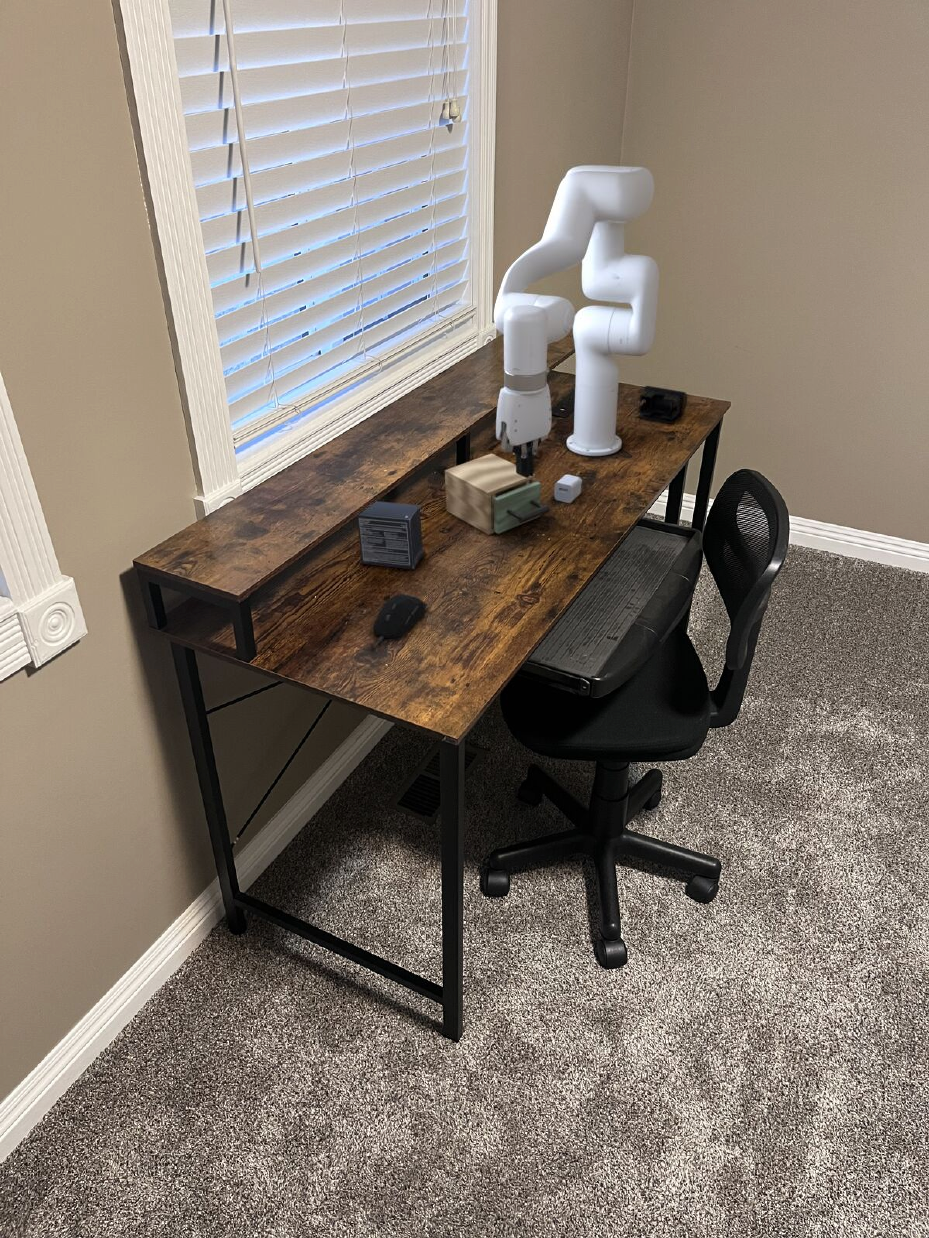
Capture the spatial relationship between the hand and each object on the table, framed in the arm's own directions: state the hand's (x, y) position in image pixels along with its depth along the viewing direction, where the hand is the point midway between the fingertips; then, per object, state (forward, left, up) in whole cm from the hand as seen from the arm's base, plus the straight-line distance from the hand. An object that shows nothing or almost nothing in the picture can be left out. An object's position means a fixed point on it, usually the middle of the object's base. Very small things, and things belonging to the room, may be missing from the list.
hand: (524, 474), depth 174 cm
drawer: (-3, -5, -11) cm, 13 cm away
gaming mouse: (+37, -10, -13) cm, 41 cm away
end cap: (-67, +13, -13) cm, 69 cm away
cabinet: (-6, -9, -12) cm, 16 cm away
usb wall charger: (-19, +4, -13) cm, 23 cm away
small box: (+17, -20, -13) cm, 30 cm away
